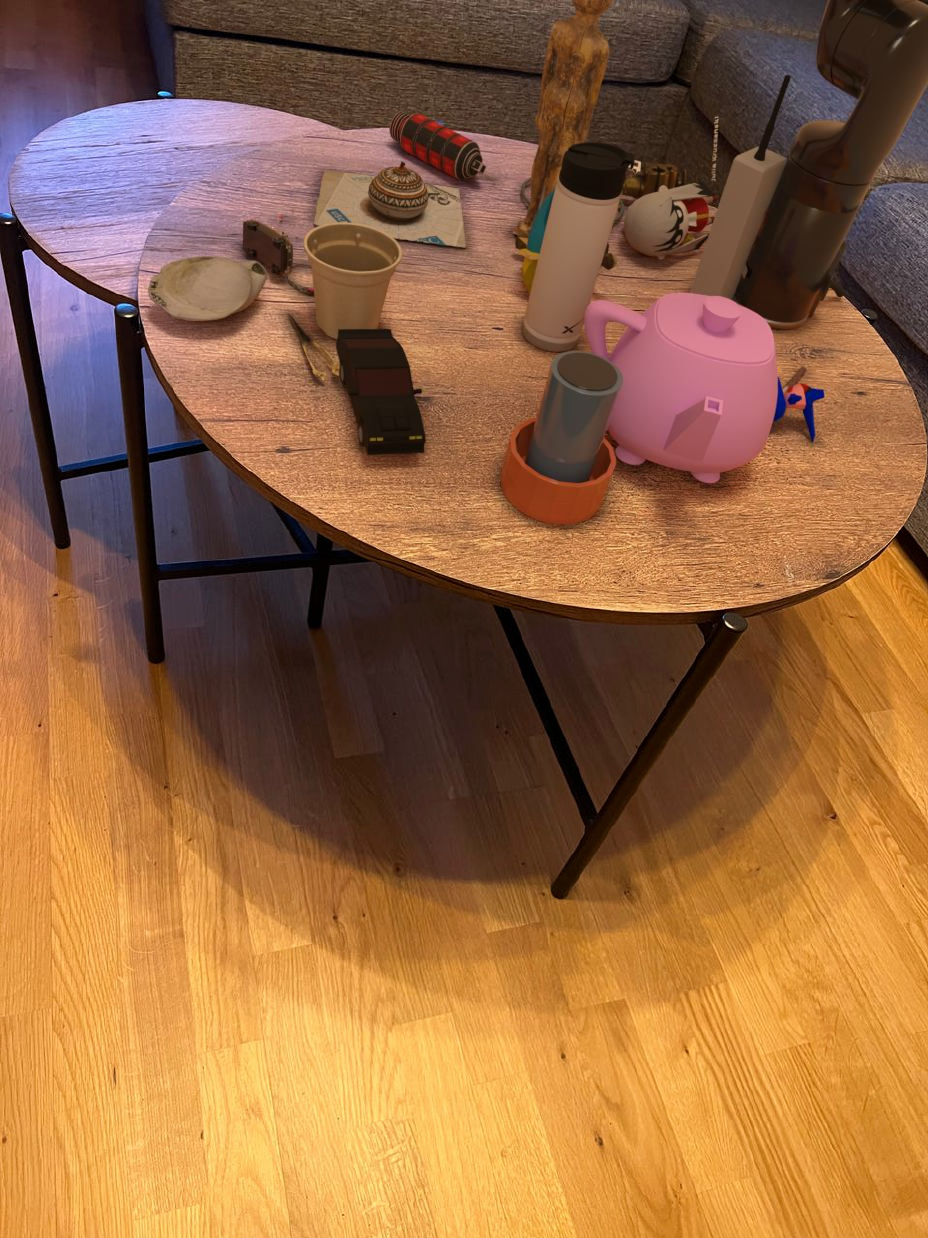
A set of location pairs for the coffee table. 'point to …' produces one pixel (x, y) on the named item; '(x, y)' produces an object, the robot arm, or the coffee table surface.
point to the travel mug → (574, 243)
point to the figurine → (798, 402)
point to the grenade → (437, 145)
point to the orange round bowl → (552, 483)
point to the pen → (795, 378)
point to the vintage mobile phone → (740, 214)
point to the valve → (653, 179)
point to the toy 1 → (533, 244)
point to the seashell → (206, 287)
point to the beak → (321, 351)
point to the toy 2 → (670, 218)
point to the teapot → (689, 382)
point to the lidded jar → (393, 205)
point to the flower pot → (350, 274)
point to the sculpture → (566, 96)
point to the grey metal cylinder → (573, 416)
